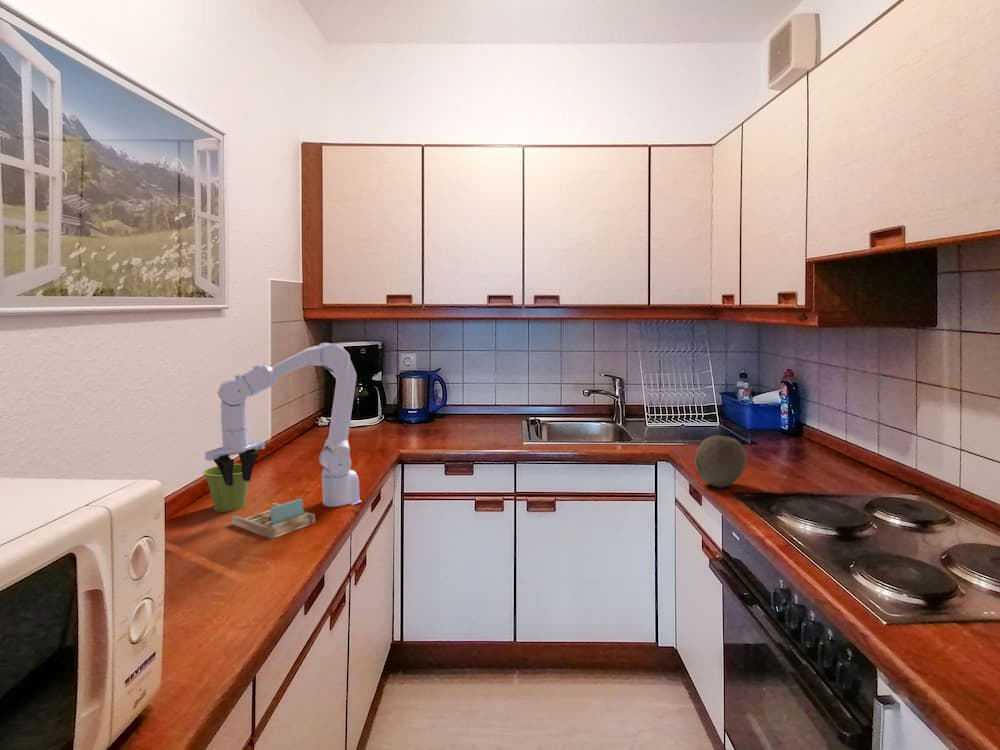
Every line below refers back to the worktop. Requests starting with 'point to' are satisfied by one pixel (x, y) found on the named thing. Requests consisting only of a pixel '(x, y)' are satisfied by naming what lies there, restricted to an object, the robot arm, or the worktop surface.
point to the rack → (276, 529)
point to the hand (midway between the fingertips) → (237, 482)
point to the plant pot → (226, 489)
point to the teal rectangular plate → (286, 511)
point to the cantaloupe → (720, 460)
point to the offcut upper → (266, 517)
